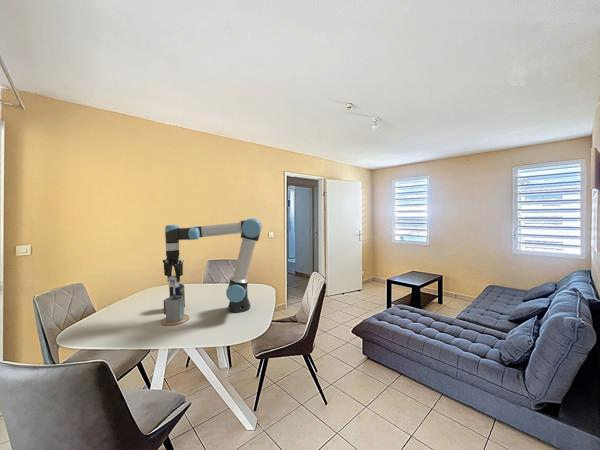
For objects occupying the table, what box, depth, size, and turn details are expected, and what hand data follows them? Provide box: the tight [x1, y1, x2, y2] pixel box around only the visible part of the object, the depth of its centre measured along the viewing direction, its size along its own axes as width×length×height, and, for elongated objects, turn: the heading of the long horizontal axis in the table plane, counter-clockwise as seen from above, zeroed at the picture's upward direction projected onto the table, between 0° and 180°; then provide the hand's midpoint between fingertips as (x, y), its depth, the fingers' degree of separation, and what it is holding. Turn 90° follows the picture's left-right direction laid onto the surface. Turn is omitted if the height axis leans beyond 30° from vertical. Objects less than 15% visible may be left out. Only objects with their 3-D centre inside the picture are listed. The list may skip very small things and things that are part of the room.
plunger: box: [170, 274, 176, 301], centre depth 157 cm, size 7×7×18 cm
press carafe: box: [160, 296, 190, 327], centre depth 157 cm, size 16×16×14 cm
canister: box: [168, 283, 186, 308], centre depth 176 cm, size 10×10×18 cm
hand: (174, 286), depth 156 cm, fingers closed on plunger, 4 cm apart
